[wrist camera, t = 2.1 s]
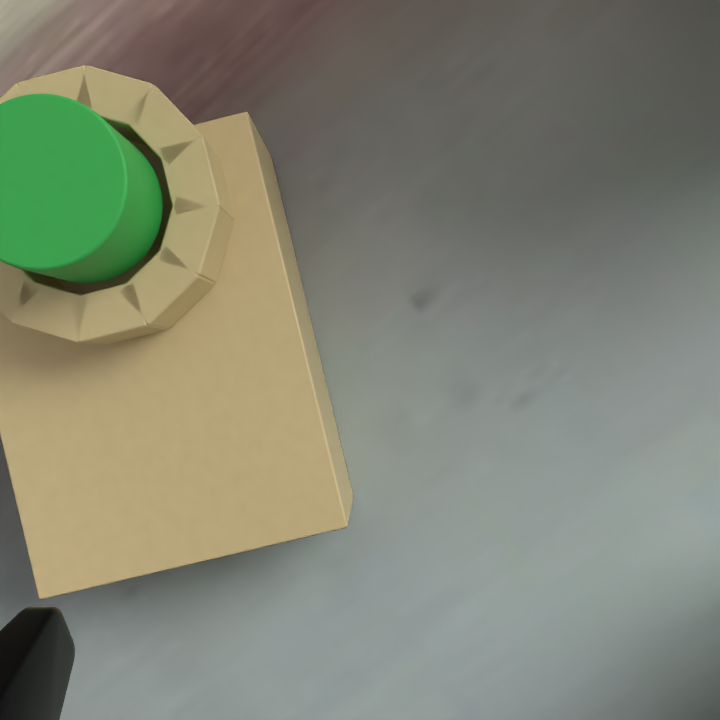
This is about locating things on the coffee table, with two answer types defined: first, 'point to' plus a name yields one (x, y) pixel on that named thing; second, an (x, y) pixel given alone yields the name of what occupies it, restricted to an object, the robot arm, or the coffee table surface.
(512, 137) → the coffee table surface
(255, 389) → the switch box
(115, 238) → the light button
